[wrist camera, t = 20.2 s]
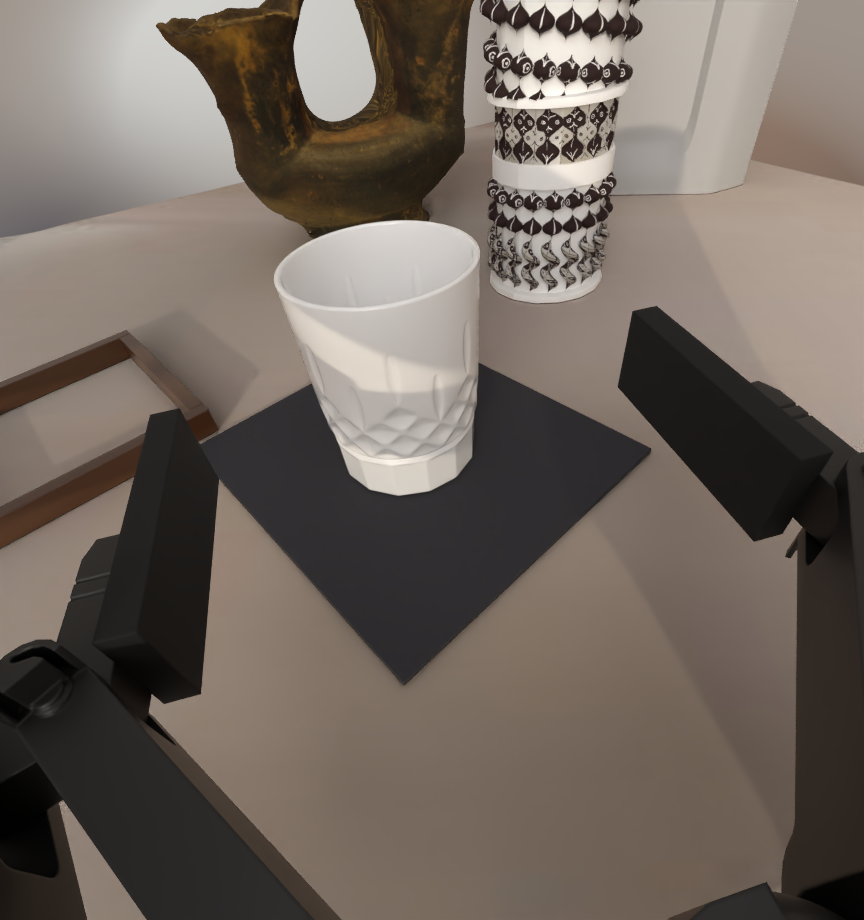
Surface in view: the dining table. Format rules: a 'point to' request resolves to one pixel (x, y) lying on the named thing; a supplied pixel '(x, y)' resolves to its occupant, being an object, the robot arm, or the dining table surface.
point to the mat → (422, 511)
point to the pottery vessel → (342, 142)
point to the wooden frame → (107, 468)
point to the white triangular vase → (696, 93)
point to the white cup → (390, 346)
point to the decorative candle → (553, 140)
